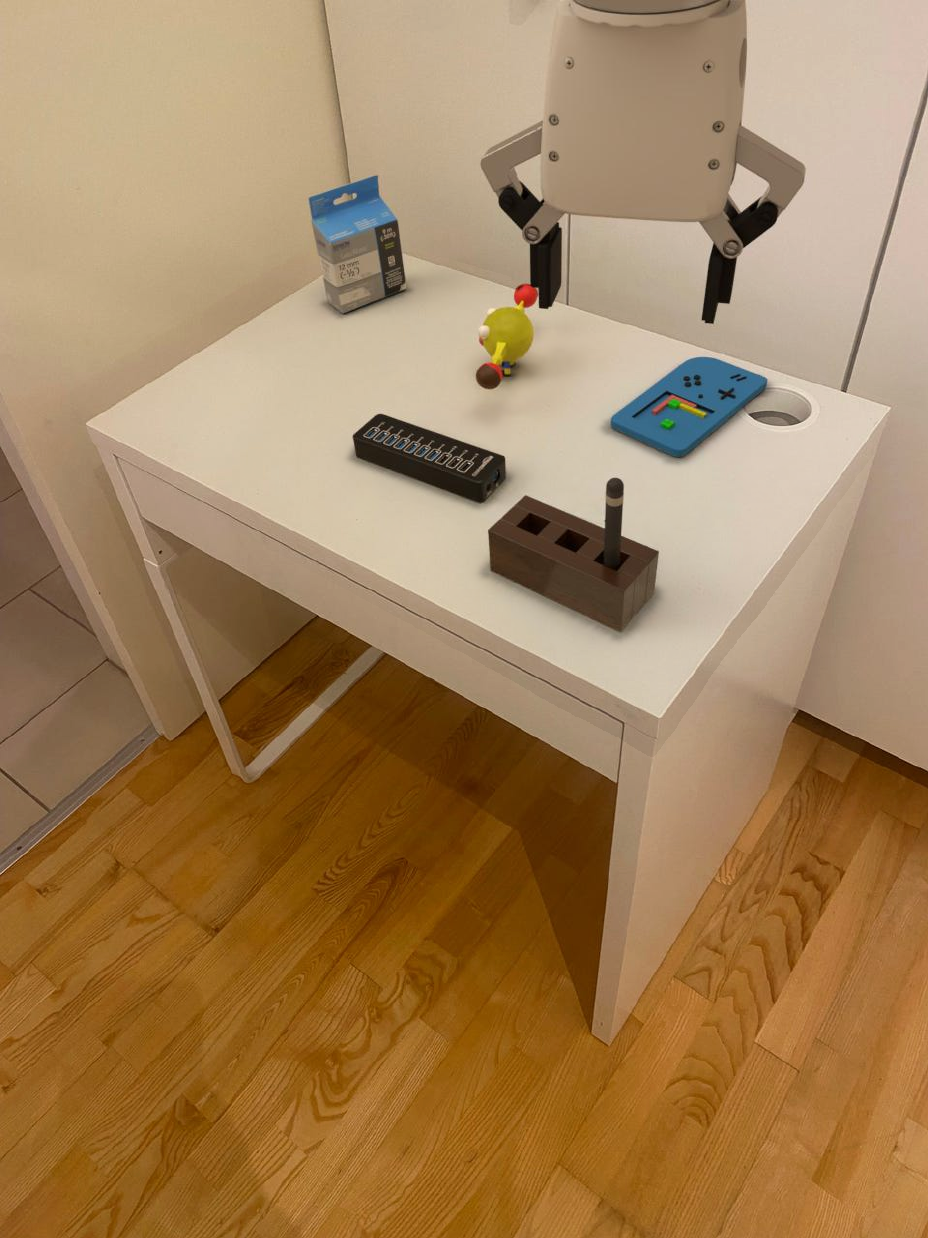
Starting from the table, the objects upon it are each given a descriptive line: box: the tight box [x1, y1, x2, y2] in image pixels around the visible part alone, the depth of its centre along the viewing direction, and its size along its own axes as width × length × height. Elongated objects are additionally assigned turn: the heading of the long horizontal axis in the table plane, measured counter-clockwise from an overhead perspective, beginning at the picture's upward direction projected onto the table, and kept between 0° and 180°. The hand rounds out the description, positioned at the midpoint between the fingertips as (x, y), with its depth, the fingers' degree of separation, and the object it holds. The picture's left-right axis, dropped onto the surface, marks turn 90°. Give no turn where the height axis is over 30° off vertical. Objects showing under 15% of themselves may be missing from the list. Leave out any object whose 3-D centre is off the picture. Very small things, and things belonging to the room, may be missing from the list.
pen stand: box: [487, 494, 660, 633], centre depth 76 cm, size 5×12×4 cm, turn 53°
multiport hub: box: [352, 413, 507, 504], centre depth 88 cm, size 4×14×2 cm, turn 56°
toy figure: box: [475, 283, 539, 390], centre depth 97 cm, size 18×6×7 cm, turn 164°
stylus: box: [604, 477, 625, 571], centre depth 70 cm, size 1×1×13 cm
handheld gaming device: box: [610, 356, 768, 458], centre depth 92 cm, size 8×1×15 cm
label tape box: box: [308, 174, 407, 314], centre depth 107 cm, size 9×4×12 cm, turn 124°
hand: (628, 304), depth 57 cm, fingers open, 9 cm apart
